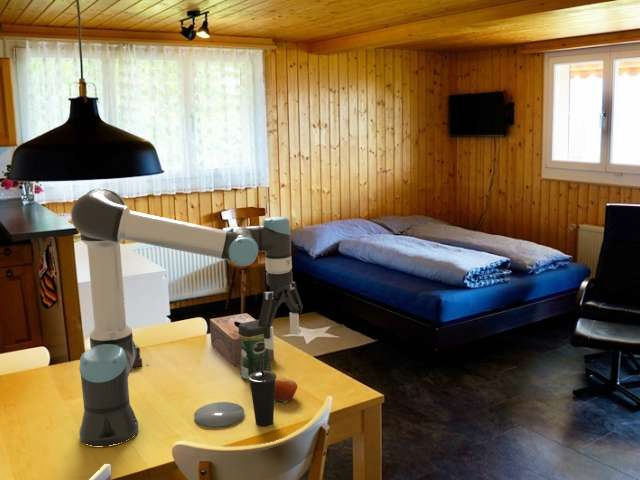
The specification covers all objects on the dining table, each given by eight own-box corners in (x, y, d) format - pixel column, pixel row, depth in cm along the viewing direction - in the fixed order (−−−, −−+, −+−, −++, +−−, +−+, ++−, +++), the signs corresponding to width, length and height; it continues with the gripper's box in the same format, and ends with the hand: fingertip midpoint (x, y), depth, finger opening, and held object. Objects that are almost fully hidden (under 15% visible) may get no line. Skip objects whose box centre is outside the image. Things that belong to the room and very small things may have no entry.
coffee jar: (262, 368, 224) (260, 315, 220) (274, 376, 217) (272, 321, 214) (236, 375, 219) (234, 321, 215) (248, 383, 212) (245, 327, 209)
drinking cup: (264, 414, 190) (261, 347, 186) (284, 421, 185) (281, 353, 182) (244, 424, 184) (241, 355, 181) (264, 432, 180) (261, 361, 176)
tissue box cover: (273, 359, 233) (272, 332, 231) (234, 367, 226) (233, 339, 224) (247, 338, 255) (246, 313, 253) (211, 345, 249) (209, 319, 247)
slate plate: (223, 432, 180) (223, 428, 180) (183, 421, 187) (183, 417, 187) (254, 411, 192) (253, 407, 192) (215, 402, 199) (215, 398, 199)
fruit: (263, 401, 195) (267, 374, 198) (272, 404, 202) (276, 378, 205) (289, 404, 193) (293, 376, 195) (297, 407, 200) (301, 380, 203)
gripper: (265, 282, 180) (269, 357, 184) (312, 262, 201) (315, 330, 205) (242, 279, 184) (247, 353, 188) (291, 260, 205) (294, 326, 209)
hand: (282, 341), depth 196 cm, fingers open, 13 cm apart
